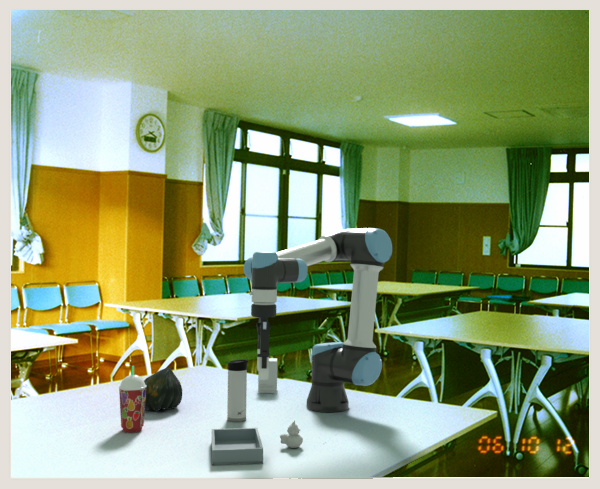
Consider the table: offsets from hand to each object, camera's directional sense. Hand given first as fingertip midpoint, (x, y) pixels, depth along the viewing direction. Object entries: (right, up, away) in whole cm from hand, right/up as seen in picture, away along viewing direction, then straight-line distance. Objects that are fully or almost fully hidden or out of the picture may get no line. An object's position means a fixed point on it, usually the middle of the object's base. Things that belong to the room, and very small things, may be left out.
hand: (262, 374), depth 192 cm
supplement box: (-2, -20, +64) cm, 67 cm away
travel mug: (-10, -20, +22) cm, 31 cm away
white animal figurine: (+9, -20, -6) cm, 23 cm away
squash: (-38, -19, +35) cm, 55 cm away
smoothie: (-41, -19, +9) cm, 46 cm away
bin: (-7, -19, -12) cm, 24 cm away
